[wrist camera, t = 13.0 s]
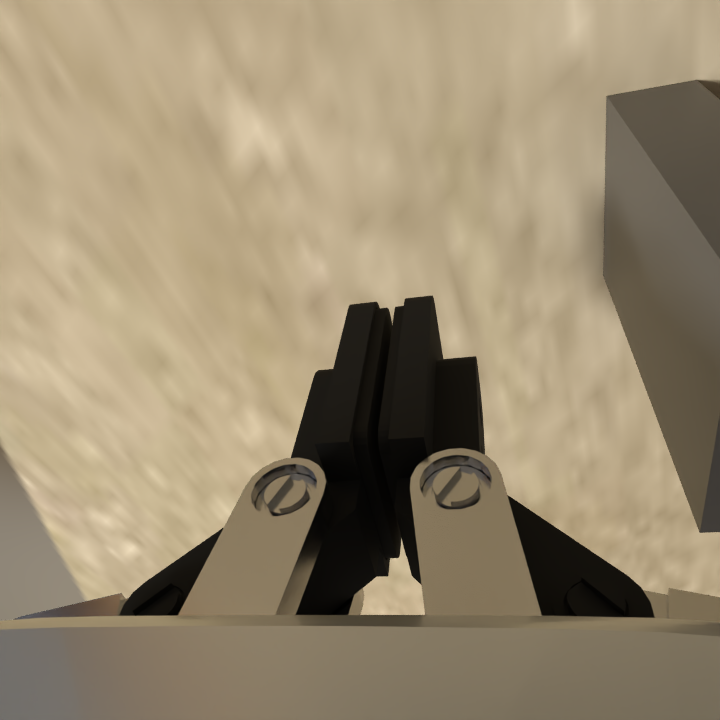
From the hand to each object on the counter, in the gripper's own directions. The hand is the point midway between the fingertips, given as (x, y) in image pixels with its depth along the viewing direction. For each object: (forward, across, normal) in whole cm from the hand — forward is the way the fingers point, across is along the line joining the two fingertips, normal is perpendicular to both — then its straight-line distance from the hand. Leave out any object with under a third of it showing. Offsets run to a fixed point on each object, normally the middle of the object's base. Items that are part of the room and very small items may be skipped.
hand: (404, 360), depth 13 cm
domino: (+6, -6, 0) cm, 9 cm away
